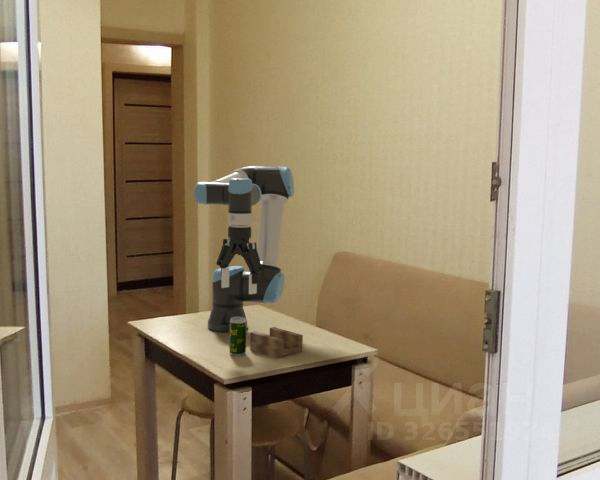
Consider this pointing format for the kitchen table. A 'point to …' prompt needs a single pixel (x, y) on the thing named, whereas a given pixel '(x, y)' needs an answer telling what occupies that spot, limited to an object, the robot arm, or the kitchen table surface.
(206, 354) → the kitchen table surface
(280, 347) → the slot block
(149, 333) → the kitchen table surface
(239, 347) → the beer can
